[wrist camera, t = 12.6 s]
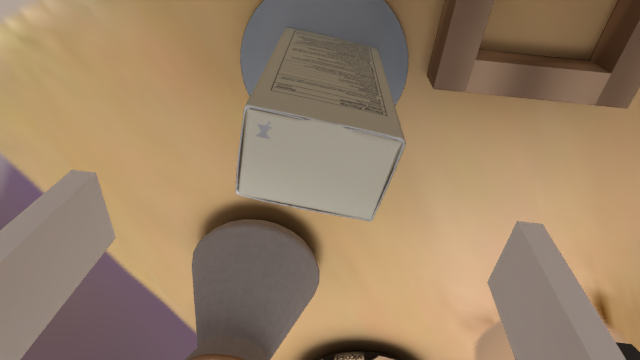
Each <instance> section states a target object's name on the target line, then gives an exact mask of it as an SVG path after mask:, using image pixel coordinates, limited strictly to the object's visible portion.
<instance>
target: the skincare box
mask: <svg viewBox="0 0 640 360" xmlns="http://www.w3.org/2000/svg"><path fill="white" fill-rule="evenodd" d="M405 144H406V143H405V139H404V135H403V132H402V129H401V125H400V122H399V119H398V116H397V112H396V109H395V105H394V102H393V98H392V95H391V92H390V88H389V85H388V82H387V78H386V75H385V71H384V68H383V65H382V61H381V58H380V54H379V51H378V49H376V48H373V47H369V46H366V45H362V44H358V43H355V42H351V41H347V40H343V39H339V38H334V37H330V36H326V35H321V34H317V33H312V32H308V31H303V30H297V29H292V28H285V30H284V32H283V34H282V36H281V38H280V39H279V41H278V43H277V45H276V47H275V49H274V51H273V53H272V55H271V57H270V59H269V61H268V63H267V65H266V67H265V69H264V71H263V73H262V75H261V76H260V78H259V80H258V82H257V84H256V86H255V88H254V90H253V92H252V94H251V96H250V98H249V99H248V101H247V103H246V105H245V108H244V115H243V122H242V129H241V137H240V145H239V153H238V163H237V174H236V194H237V195H240V196H243V197H248V198H251V199H256V200H260V201H264V202H269V203H273V204H278V205H283V206H288V207H293V208H298V209H303V210H309V211H314V212H319V213H324V214H330V215H335V216H341V217H347V218H353V219H359V220H365V221H372V220H373V219H374V216H375V214H376V212H377V209H378V207H379V205H380V203H381V201H382V199H383V196H384V195H385V192H386V190H387V188H388V186H389V183H390V181H391V179H392V176H393V174H394V172H395V170H396V167H397V165H398V162H399V160H400V157H401V155H402V153H403V150H404V147H405Z"/></svg>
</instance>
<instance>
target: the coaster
mask: <svg viewBox="0 0 640 360" xmlns="http://www.w3.org/2000/svg"><path fill="white" fill-rule="evenodd" d="M285 28H292V29H297V30H303V31H308V32H312V33H317V34H321V35H326V36H330V37H334V38H339V39H343V40H347V41H351V42H355V43H358V44H362V45H366V46H369V47H373V48H376V49H378V51H379V54H380V58H381V61H382V65H383V68H384V71H385V75H386V78H387V82H388V85H389V88H390V92H391V95H392V98H393V102H394V105H396V103H397V102H398V100H399V98H400V96H401V94H402V91H403V89H404V85H405V82H406V78H407V72H408V50H407V44H406V40H405V36H404V33H403V30H402V28H401V26H400V23H399V21H398V19H397V17H396V16H395V14H394V12H393V10H392V9H391V8H390V6H389V5H388V4H387V3H386V1H385V0H264V1H263V2H262V3H261V4H260V5H259V6H258V8H257V9H256V10H255V12H254V14H253V15H252V17H251V18H250V20H249V23H248V25H247V27H246V29H245V33H244V36H243V39H242V46H241V60H240V62H241V71H242V76H243V80H244V84H245V87H246V89H247V92H248V94H249V96H251V94H252V92H253V90H254V88H255V86H256V84H257V82H258V80H259V78H260V76H261V75H262V73H263V71H264V69H265V67H266V65H267V63H268V61H269V59H270V57H271V55H272V53H273V51H274V49H275V47H276V45H277V43H278V41H279V39H280V38H281V36H282V34H283V32H284V30H285Z"/></svg>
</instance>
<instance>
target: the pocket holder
mask: <svg viewBox="0 0 640 360" xmlns="http://www.w3.org/2000/svg"><path fill="white" fill-rule="evenodd" d="M493 2H494V0H445V3H444V7H443V11H442V16H441V20H440V24H439V28H438V32H437V36H436V40H435V44H434V48H433V52H432V57H431V61H430V65H429V69H428V73H427V77H428V79H429V81H430V83H431V85H432V87H433V89H439V90H449V91H459V92H469V93H479V94H489V95H498V96H508V97H518V98H528V99H538V100H548V101H558V102H568V103H578V104H588V105H597V106H607V107H617V108H628V106H629V105H630V103H631V101H632V99H633V98H634V96H635V94H636V93H637V91H638V89H639V87H640V0H619V1H618V3H617V5H616V7H615V9H614V11H613V13H612V15H611V17H610V19H609V21H608V23H607V25H606V27H605V30H604V32H603V34H602V36H601V38H600V40H599V42H598V44H597V46H596V48H595V50H594V52H593V54H592V56H591V58H590V61H587V60H577V59H567V58H557V57H547V56H537V55H527V54H517V53H507V52H497V51H487V50H479V47H480V44H481V41H482V37H483V34H484V31H485V28H486V25H487V21H488V18H489V15H490V12H491V9H492V5H493Z"/></svg>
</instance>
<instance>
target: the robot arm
mask: <svg viewBox="0 0 640 360" xmlns="http://www.w3.org/2000/svg"><path fill="white" fill-rule="evenodd" d="M115 238H116V237H115V234H114V230H113V227H112V224H111V221H110V217H109V214H108V211H107V208H106V204H105V201H104V198H103V195H102V191H101V188H100V185H99V182H98V178H97V175H96V173H94V172H85V171H77V170H71V171H70V172H69V173H68V174H67V175H65V176H64V177H63V178H62V179H61V180H60V181H58V182H57V183H56V184H55V185H54V186H52V187H51V188H50V189H49V190H48V191H47V192H45V193H44V194H43V195H42V196H41V197H40V198H39V199H37V200H36V201H35V202H34V203H33V204H31V205H30V206H29V207H28V208H26V209H25V210H24V211H23V212H22V213H21V214H19V215H18V216H17V217H16V218H15V219H14V220H13V221H11V222H10V223H9V224H8V225H6V226H5V227H4V228H3V229H2V230H1V231H0V360H20V359H21V358H22V356H23V355H24V354H25V353H26V351H27V350H28V349H29V348H30V346H31V345H32V344H33V342H34V341H35V340H36V338H37V337H38V336H39V335H40V333H41V332H42V331H43V330H44V328H45V327H46V326H47V325H48V323H49V322H50V321H51V319H52V318H53V317H54V316H55V314H56V313H57V312H58V310H59V309H60V308H61V307H62V305H63V304H64V303H65V302H66V300H67V299H68V298H69V296H70V295H71V294H72V293H73V291H74V290H75V289H76V288H77V286H78V285H79V284H80V282H81V281H82V279H84V277H85V276H86V275H87V273H88V272H89V271H90V270H91V268H92V267H93V266H94V264H95V263H96V262H97V261H98V259H99V258H100V256H102V254H103V253H104V252H105V250H106V249H107V248H108V247H109V245H110V244H111V243H112V242H113V240H114V239H115ZM488 285H489V288H490V290H491V293H492V296H493V299H494V301H495V304H496V307H497V310H498V313H499V315H500V318H501V321H502V324H503V326H504V329H505V332H506V334H507V338H508V340H509V343H510V346H511V349H512V351H513V354H514V357H515V360H640V352H639V351H638V350H637V349H636V348H635V347H634V346H633V345H632V344H625V343H617V342H615V341H614V339H613V338H612V336H611V334H610V333H609V331H608V329H607V328H606V326H605V325H604V323H603V321H602V320H601V318H600V316H599V315H598V313H597V312H596V310H595V308H594V307H593V305H592V303H591V302H590V300H589V299H588V297H587V295H586V294H585V292H584V290H583V289H582V287H581V286H580V284H579V282H578V281H577V279H576V277H575V276H574V274H573V273H572V271H571V269H570V268H569V266H568V265H567V263H566V261H565V260H564V258H563V256H562V255H561V253H560V252H559V250H558V248H557V247H556V245H555V243H554V242H553V240H552V239H551V237H550V235H549V234H548V232H547V230H546V229H545V227H544V226H543V224H538V223H529V222H520V221H517V223H516V225H515V227H514V229H513V231H512V233H511V235H510V237H509V239H508V241H507V243H506V245H505V247H504V249H503V251H502V253H501V255H500V257H499V259H498V261H497V263H496V266H495V268H494V270H493V272H492V274H491V276H490V278H489V280H488Z"/></svg>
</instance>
